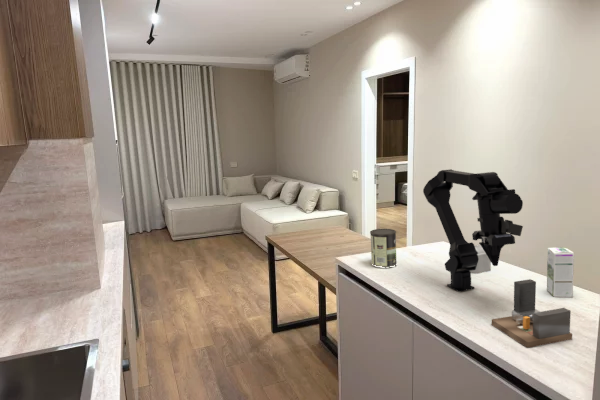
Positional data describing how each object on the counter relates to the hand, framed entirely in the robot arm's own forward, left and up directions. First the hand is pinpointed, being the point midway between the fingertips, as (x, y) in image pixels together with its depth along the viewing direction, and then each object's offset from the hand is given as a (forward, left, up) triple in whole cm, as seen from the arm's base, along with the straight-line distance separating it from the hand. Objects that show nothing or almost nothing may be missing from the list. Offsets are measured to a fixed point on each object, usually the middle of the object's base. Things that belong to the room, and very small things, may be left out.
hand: (495, 265), depth 124 cm
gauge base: (+17, -5, -12) cm, 21 cm away
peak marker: (+18, -7, -10) cm, 22 cm away
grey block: (-31, +18, -13) cm, 38 cm away
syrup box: (+2, +23, -13) cm, 27 cm away
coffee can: (-50, -10, -13) cm, 52 cm away
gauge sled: (+15, -4, -11) cm, 19 cm away
